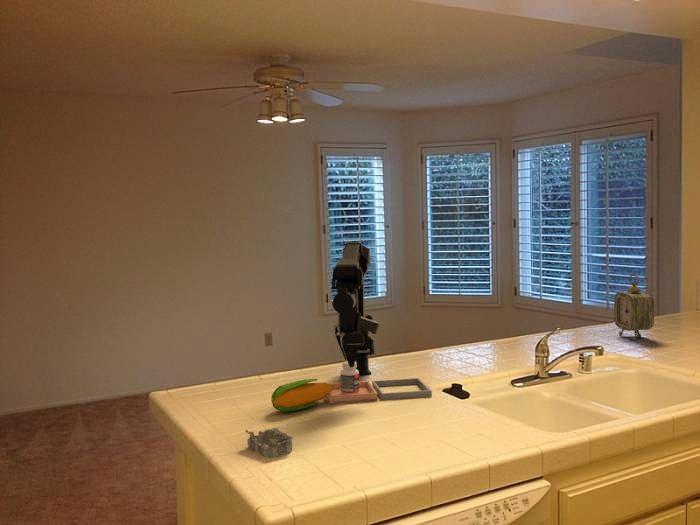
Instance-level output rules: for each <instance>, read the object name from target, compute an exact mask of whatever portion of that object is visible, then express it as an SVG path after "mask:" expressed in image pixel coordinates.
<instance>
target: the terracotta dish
mask: <svg viewBox="0 0 700 525" xmlns="http://www.w3.org/2000/svg"><path fill="white" fill-rule="evenodd" d="M328 384H329V385H331V386H333V390H332V391H331V392H330V393H329V394H328V395H326V396H325V397H326V398H327V400H328V403H329V404H330V405H331V404H344V403H357V402H358V403H359V402H360V403H361V402H371V401H372V402H373V401H375V400H376V401H378V393H377V392H376V391H375V389H374V388H373V386H372V383H371V382H370V381H369V380H368V381H367V380H365V381H364V380H363V381H359V394H348V395H342V394H341V382H334V383H332V382H331V383H328Z"/></svg>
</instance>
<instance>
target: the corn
mask: <svg viewBox="0 0 700 525" xmlns="http://www.w3.org/2000/svg"><path fill="white" fill-rule="evenodd" d="M316 381H318V378H307V379H301V380H296V381H293V382H289V383H286V384H283V385H280V386H277V388H276V389H275V390H274V391H273V392H272V395H271V400H270V401H271V404H272V407H273V408H274V409H275V410H277V411H280V412H283V413H291V412H292V413H293V412H296V411H299V410H304V409H308V408H311V407H312V406H315V405H317V404H319V403H320V402H319V401H321V400H323V399H324V398H326V397H327V396H326V395H328V394H329V393H330V392H331V391H332V390H333V386H331V385H329V384H330V383H327V382H316Z"/></svg>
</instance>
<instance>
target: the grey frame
mask: <svg viewBox="0 0 700 525" xmlns="http://www.w3.org/2000/svg"><path fill="white" fill-rule="evenodd" d="M406 384H407V385H418V386H419V387H420V388H421V389H422V390H413V391H412V390H411V391H409V390H408V391H397V392H396V391H395V392H384V391H382V389H381V388H380V387H390V386H404V385H405V386H406ZM371 385H372V386H373V388H374V389H375V391H376V392H377V396H379V398H380V399H381V400H393V399H395V400H396V399H397V398H398V399H409V398H410V397H411V398H412V397H413V398H425V397H426V396H427V397H433V393H432V392H433V391H432V389H431V388H429V387H428V385H427V384H426V383H424V381H423V380H422V379H421V378H419V377H413V378H398V379H382V380H381V379H380V380H379V379H378V380H372V381H371ZM427 397H426V398H427ZM411 398H410V399H411ZM413 398H412V399H413Z"/></svg>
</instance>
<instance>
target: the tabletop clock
mask: <svg viewBox="0 0 700 525" xmlns="http://www.w3.org/2000/svg"><path fill="white" fill-rule="evenodd" d="M632 277H635V278H636V279H637V283H636V281H635V280H634V281H632V280H631V278H632ZM628 282H629V283H630V284H631V286H629V287H628V288H627V289H626V292H625V291H624V292H616V293H615V296H614V303H613V304H614V306H613V312H614V313H613V314H614V315H613V317H614V324H615V325H616V327H617V328H618V329H620V331H618V335H619V336H623V334H624V331H631V332H632V331H634V336H633V337H632V340H633V341H637V340H638V339H639V338H641V337H642V334H641V333H640V331H648V330H651V329H652V328H654V325H655V310H656V309H655V300H654V298H653V297H652V296H650V295H649V294H647V293H644V292H642V289H641V288H640V287H639V286H638V285H640V278H639V276H638V275H637V274H630V275H629V278H628ZM621 329H622V330H621Z"/></svg>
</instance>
